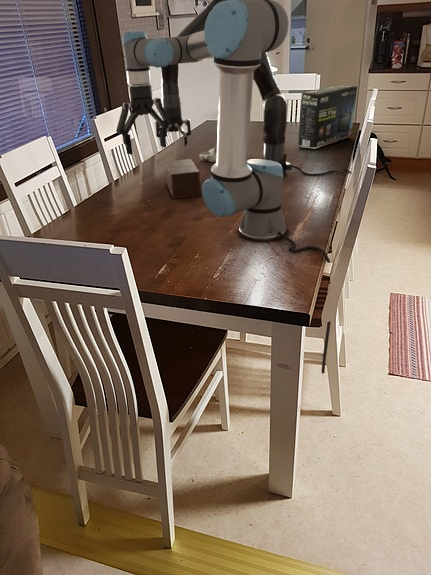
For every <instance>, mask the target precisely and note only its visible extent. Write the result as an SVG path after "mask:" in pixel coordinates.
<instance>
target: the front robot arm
mask: <svg viewBox="0 0 431 575" xmlns="http://www.w3.org/2000/svg"><path fill="white" fill-rule="evenodd" d="M288 16H289V15H288V13H287V11H286V10H285V8H284V6H282V4H280V3H279V2H278V1H276V0H227V1H222V2H219V3H218V4H216V5H215V6H214V7H213V9H212V10H211V11H210V13H209V15H208V17H207V20H206V23H205V29H204V31H200V32H197V33H194V34H190V35H187V36H182V37H177V36H171V37H158V38H157V37H156V38H148V37H147V33H146V31H145V30H129V31H128V30H127V31H124V32H123V33H122V48H123V54H124V61H125V63H124V64H125V69H126V78H127V84H128V85H129V86H128V95H129V100H130V102H122V103H121V111H120V116H119V118H118V123H117V126H116V131H115V132H116V133H117V134H120V135H122V143H123V145H125V149H126V154H127V155H131V156H132V155H133V146H132V138H131V137H132V136H131V134H129V133H130V131H131V129H132V127H133V125H134V123H135V121H136V119H137V118H139V116H144V115H150V116H151V118H153V119H154V121H155V122H156V121H157V122H158V124H159V125H160V126H161V127H159V134H160V137H159V143H160V147H162V148H164V147H165V148H167V137H168V132H167V128H168V125H171V121H170V119H169V117H168V116H167V114H166V112H165V110H164V108H163V106H162V98H159V97H154V98H153V87H152V85H151V83H152V78H151V77H152V76H151V69H150V68H151V67H154V68H161V67H166V66H168V65H173V64H179V65H180V64H190V63H192V64H193V63H198V62H201V61H203V60H205V59H210V58H213V64H214V65H215V66H216V68H217V69H218V71H219V74H218V75H219V76H218V77H219V79H218V107H217V138H216V144H217V162H214V163H213V165H211V167H210V178H207V179H206V180H205V181H204V182H203V183H202V186H201V196H202V198H203V201H204V204H205V205H206V207H207V209H208V210H209V211H210V213H212V214H213V215H215V216H217V217H219V218H226V217H229V216H235V214H239V213H241V212H243V213H242V216H241V220H240V221H239V223H238V232H239V235H240V236H241V237H242V238H244V239H247V240H250V241H254V242H271V241H277V240H279V239H281V238H283V239H284V240H285V241H287V242H288V243H290V244H291V246H290V247H289V249H288V250H289V251H290V252H291V253H300V252H303V251H306V250H313V251H314V250H315V251H319V252H320V253H321V254H322V255H323V258H324V259H325V261H326V263H328V264H331V259H330V258H329V255H328V254H327V253H326V251H325V250H324V249H323V248H321V247H319V246H317V245H305V246H302V247H300V248H296V246H297V243H296V242H295V241H294V240H293V239H291V238H290V237H288V236H286V234H287V223H286V221H285V216H284V214H283V210H282V200H283V183H284V175H283V168H282V166H281V164H279V163H278V162H275V161H270V160H263V158H262V159H260V158H252V159H248V156H249V155H248V154H249V141H250V129H251V128H250V127H251V115H252V114H251V112H252V100H253V85H254V80H253V74H254V71H255V70H256V69H257V68H258V67H259V66H260V62H261V53H265V52H266V53H270V52H272V51H276V49H278V48H279V47H280V46H282V44H283V43H284V42H285V40H286V39H287V36H288V33H289V28H290V24H289V22H290V21H289V17H288ZM153 106H155V107H156V109H157V111H158V113H159V114H158V113H157V112H156V110H155V109H154V108H153ZM130 109H131V111H130V113H129V110H130ZM128 115H129V116H128ZM159 115H160V116H159ZM330 330H331V320H330V321H327V323H326V331H325V337H324V345H323V354H322V362H321V363H322V364H321V374H325V372H326V371H325V370H326V360H327V352H328V346H329V338H330V332H331V331H330Z"/></svg>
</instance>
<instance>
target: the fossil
mask: <svg viewBox="0 0 431 575" xmlns="http://www.w3.org/2000/svg"><path fill="white" fill-rule="evenodd" d="M199 158H200V160H201V161H203V162H207V161H208V162H210V163H216V162H217V143H216V144H215V145H214V147H212V148H210V149H209V150H208V151H202V152H201V153H200V154H199Z"/></svg>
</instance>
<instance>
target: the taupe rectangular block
mask: <svg viewBox="0 0 431 575" xmlns="http://www.w3.org/2000/svg"><path fill="white" fill-rule="evenodd" d="M164 166H165V179H166V185H167V188H168V190H169V191H170V192H169V193H170V195H171V196H172V199H174V200H175V199H182V198H192V197H193V198H194V197H201V196H202V192H201V176H200V170H199V169H198V167H197V166H196V164H195V163H194V161H193V160H192V159H191V158H188V159H179V160H168V161H164Z"/></svg>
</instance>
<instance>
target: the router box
mask: <svg viewBox="0 0 431 575" xmlns="http://www.w3.org/2000/svg"><path fill="white" fill-rule="evenodd" d="M357 93H358V86H356V85H350V84H339V85H338V84H337V85H334V86H328V87H324V88H318V89H314V90H309V91H304V92H301V93H300V109H299V110H300V111H299V124H298V137H297V146H298V145H302V146H307V147H317V146H320V145H323V144H325V143H328V142H331V141H333V140H336V139H338V138H341V137H344V136H347V135H351V136H352V133H353V132H352V131H353V125H354V115H355V109H356V99H357ZM311 151H313V150H312V149H311Z"/></svg>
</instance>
